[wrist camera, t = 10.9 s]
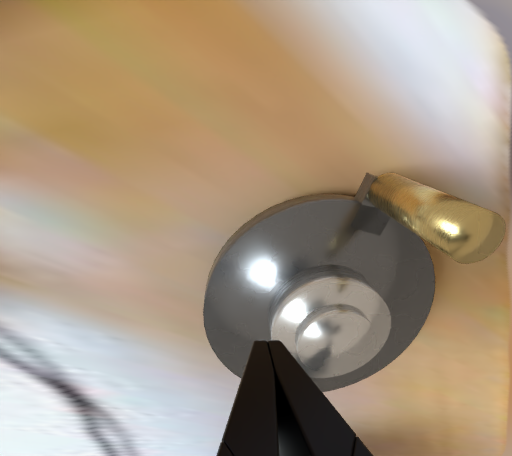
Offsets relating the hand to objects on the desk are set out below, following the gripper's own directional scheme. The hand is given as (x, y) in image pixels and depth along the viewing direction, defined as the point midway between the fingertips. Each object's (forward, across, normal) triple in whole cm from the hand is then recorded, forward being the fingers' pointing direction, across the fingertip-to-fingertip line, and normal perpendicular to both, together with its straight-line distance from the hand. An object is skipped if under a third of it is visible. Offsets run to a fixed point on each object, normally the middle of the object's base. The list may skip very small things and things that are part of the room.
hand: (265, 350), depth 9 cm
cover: (+8, -5, +4) cm, 10 cm away
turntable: (+9, -5, +4) cm, 11 cm away
